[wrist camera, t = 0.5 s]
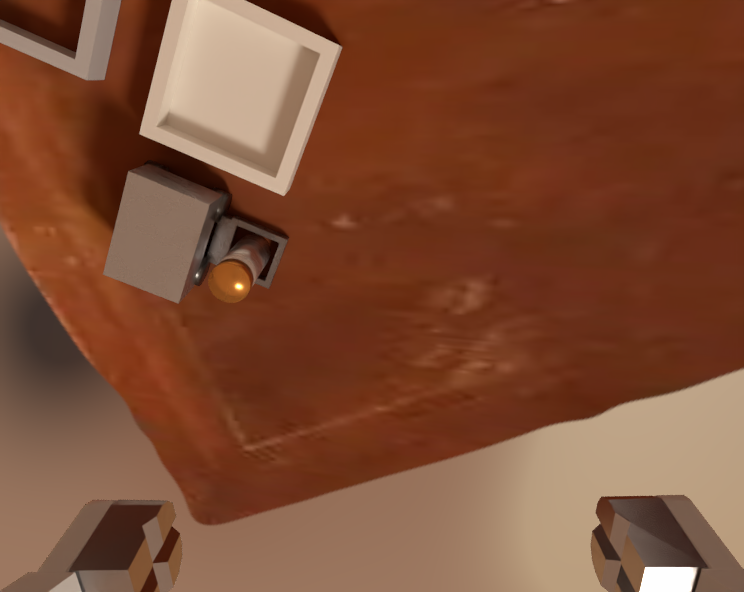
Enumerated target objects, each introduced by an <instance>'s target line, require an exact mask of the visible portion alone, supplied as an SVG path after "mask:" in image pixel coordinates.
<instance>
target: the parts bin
mask: <svg viewBox="0 0 744 592" xmlns="http://www.w3.org/2000/svg"><path fill="white" fill-rule="evenodd" d="M120 4H121V0H86V4H85V9H84V14H83V20H82V25H81V30H80V36H79V41H78V46H77V52H74V51H71V50H69V49H67V48H64V47H62V46H60V45H58V44H55V43H53V42H51V41H49V40H46V39H44V38H42V37H40V36H37V35H35V34H33V33H31V32H28V31H26V30H24V29H22V28H19V27H17V26H15V25H13V24H10V23H8V22H6V21H3V20H1V19H0V43H3V44H5V45H7V46H9V47H12V48H14V49H16V50H19V51H21V52H23V53H26V54H28V55H30V56H32V57H35V58H37V59H39V60H42V61H44V62H46V63H48V64H51V65H53V66H55V67H58V68H60V69H62V70H65V71H67V72H69V73H71V74H74V75H76V76H78V77H81V78H83V79H85V80H104V79H105V75H106V70H107V65H108V61H109V56H110V51H111V46H112V42H113V37H114V32H115V27H116V23H117V18H118V13H119V8H120Z"/></svg>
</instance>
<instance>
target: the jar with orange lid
mask: <svg viewBox="0 0 744 592" xmlns="http://www.w3.org/2000/svg"><path fill="white" fill-rule="evenodd" d="M270 256H271V248H270V245H269V244H268V242H267V241H266V240H265V239H264V238H263V237H261V236H259V235H256V234H248V235H245V236H243V237H242V238H241V239H240V240H239V241H238V242H237V243H236V244H235V245H234V246H233V248H232V249H231V250H230V251H229V252H228V253H227V254H226V256H225V257H224V258H223V259H222V260H221V261H220V262H219V263H218V265H217V266H216V267H215V268H214V269H213V270H212V271H211V273H210V275H209V279H208V284H209V288H210V290H211V292H212V293H213V294H214V295H215V296H216V297H217V298H218V299H220V300H222V301H224V302H230V303H233V302H238V301H240V300H242V299H243V298H245V297H246V295H247V294H248V292H249V291H250V289H251V287H252V286H253V284H254V283H255V281H256V279H257V278H258V276H259V275H260V273H261V272H262V270H263V268H264V267H265V265H266V264H267V262H268V260H269V259H270Z"/></svg>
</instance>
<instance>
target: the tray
mask: <svg viewBox="0 0 744 592" xmlns="http://www.w3.org/2000/svg"><path fill="white" fill-rule="evenodd" d="M341 50H342V47H341V46H340V45H338V44H336V43H333V42H331V41H329V40H327V39H325V38H323V37H321V36H319V35H317V34H315V33H313V32H310V31H308V30H306V29H304V28H302V27H300V26H298V25H296V24H294V23H292V22H290V21H287V20H285V19H283V18H281V17H279V16H277V15H275V14H273V13H271V12H269V11H267V10H264V9H262V8H260V7H258V6H256V5H254V4H252V3H250V2H248V1H246V0H172V2H171V6H170V10H169V14H168V18H167V23H166V27H165V31H164V35H163V39H162V43H161V47H160V51H159V55H158V59H157V63H156V67H155V71H154V75H153V80H152V84H151V88H150V92H149V96H148V100H147V104H146V108H145V112H144V116H143V120H142V124H141V128H140V133H139V134H140V135H142V136H145V137H147V138H149V139H152V140H154V141H157V142H159V143H161V144H164V145H166V146H168V147H171V148H173V149H175V150H178V151H180V152H182V153H185V154H187V155H189V156H192V157H194V158H196V159H199V160H201V161H203V162H206V163H208V164H210V165H213V166H215V167H217V168H220V169H222V170H224V171H227V172H229V173H231V174H234V175H236V176H238V177H241V178H243V179H245V180H248V181H250V182H252V183H255V184H257V185H259V186H262V187H264V188H266V189H269V190H271V191H273V192H276V193H278V194H280V195H283V196H284V195H285V194H286V193H287V192H288V190H289V189H290V187H291V184H292V181H293V178H294V176H295V173H296V170H297V168H298V165H299V162H300V160H301V157H302V154H303V152H304V149H305V146H306V144H307V141H308V138H309V136H310V133H311V130H312V127H313V125H314V122H315V119H316V117H317V114H318V111H319V109H320V106H321V103H322V101H323V98H324V95H325V93H326V90H327V87H328V84H329V82H330V79H331V76H332V74H333V71H334V68H335V66H336V63H337V60H338V58H339V55H340V52H341Z"/></svg>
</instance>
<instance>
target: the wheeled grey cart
mask: <svg viewBox="0 0 744 592" xmlns="http://www.w3.org/2000/svg"><path fill="white" fill-rule="evenodd" d="M231 199H232V194H230V193H228V192H225V191H223V190H221V189H218V188H216V187H214V188H213V189H212V190H210V189H208V188H206V187H203V186H201V185H198V184H196V183H194V182H191V181H189V180H187V179H184V178H182V177H179V176H177V175H175V174H172V173H170V172H169V168H168V167H166V166H164V165H161V164H159V163H157V162H154V161H152V160H148V161H147V162H146V163H145V164H144V165H143V166H141V167H138V168H135V169H133V170H130V171H128V175H127V179H126V183H125V187H124V191H123V195H122V199H121V203H120V207H119V211H118V216H117V220H116V224H115V228H114V232H113V236H112V240H111V244H110V248H109V252H108V256H107V261H106V265H105V269H104V273H103V275H106V276H108V277H111V278H114V279H116V280H119V281H121V282H124V283H127V284H129V285H132V286H134V287H137V288H140V289H142V290H145V291H147V292H150V293H153V294H155V295H158V296H160V297H163V298H165V299H168V300H171V301H173V302H176V303H178V304H179V303H180V301H181V300H182V299H183V298H184V297H185V296H186V295H187V294H188V293H189V291H190V290H191V289H192V288H193V287H194V284H195V285H197V286H200V285H201V284H202V282H203V281H204V279H205V277H206V275H207V272H208V270H209V267H210V263H213V264H216V265H218V263H219V262H220V261H221V260H222V259H223V258H224V257H225V256H226V254H227V253H228V252H229V251H230V249H231V246H232V243H233V240H234V237H235V234H236V231H237V229H238V226H239V227H242V228H244V229H247V230H249V231H251V232H254V233H256V234H259V235H261V236H264V237H266V238H268V239H271V240H273V241H276V242H278V243H279V246H278V249H277V251H276V254H275V257H274V259H273V262H272V264H271V267H270V270H269V272H268V275H267V278H266V277H264V276H261V275H259V276H258V278H257V279H256V281H255V283H256V284H258V285H261V286H263V287H266V288H268V289H269V287H270V285H271V283H272V280H273V278H274V275H275V273H276V270H277V267H278V265H279V262H280V260H281V257H282V254H283V252H284V249H285V247H286V244H287V241H288V239H289V237H287V236H285V235H283V234H280V233H278V232H275V231H273V230H271V229H268V228H266V227H263V226H261V225H259V224H256V223H254V222H251V221H249V220H247V219H244V218H242V217H239V216H237V215H235V216H234V217H232V216H229V215H227V211H228V209H229V206H230V203H231ZM214 222H217V226H216V229H215V232H214V235H213V238H212V241H211V244H210V247H209V251H208V254H207V257H206V256H204V253H205V250H206V246H207V243H208V240H209V237H210V234H211V231H212V228H213V225H214Z"/></svg>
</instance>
